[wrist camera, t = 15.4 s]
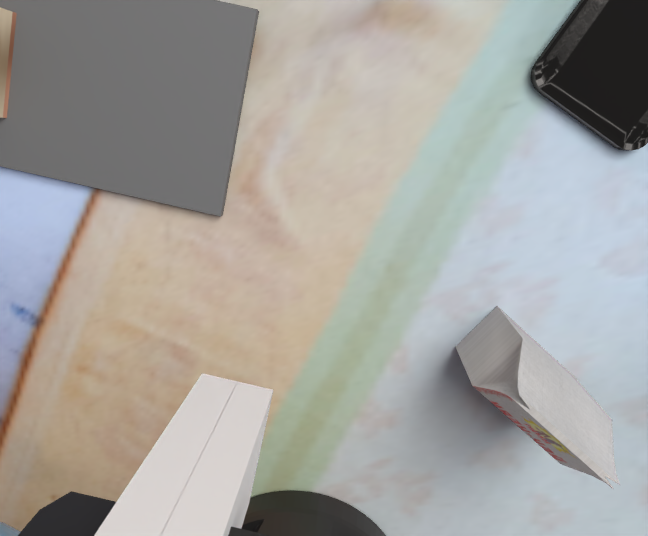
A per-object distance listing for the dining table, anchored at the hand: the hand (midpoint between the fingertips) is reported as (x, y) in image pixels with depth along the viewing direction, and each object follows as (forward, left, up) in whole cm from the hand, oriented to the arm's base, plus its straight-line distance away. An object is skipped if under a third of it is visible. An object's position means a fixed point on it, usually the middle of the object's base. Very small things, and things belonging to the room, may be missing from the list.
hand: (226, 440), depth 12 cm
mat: (+6, +16, -24) cm, 30 cm away
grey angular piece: (-5, -14, -25) cm, 29 cm away
